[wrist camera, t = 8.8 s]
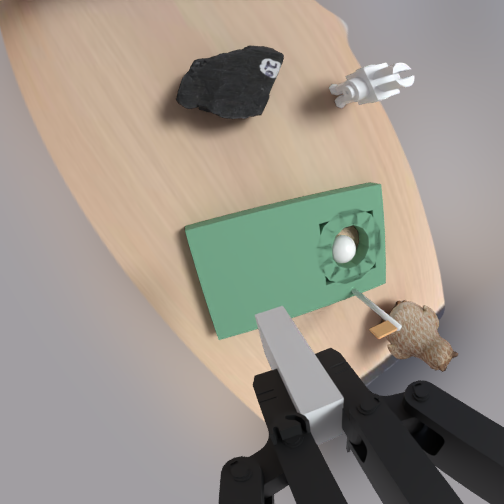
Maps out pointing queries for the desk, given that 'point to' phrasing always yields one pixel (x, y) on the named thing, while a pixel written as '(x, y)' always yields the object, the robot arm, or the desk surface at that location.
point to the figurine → (419, 336)
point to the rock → (231, 82)
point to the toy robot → (371, 84)
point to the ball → (343, 249)
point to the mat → (290, 258)
